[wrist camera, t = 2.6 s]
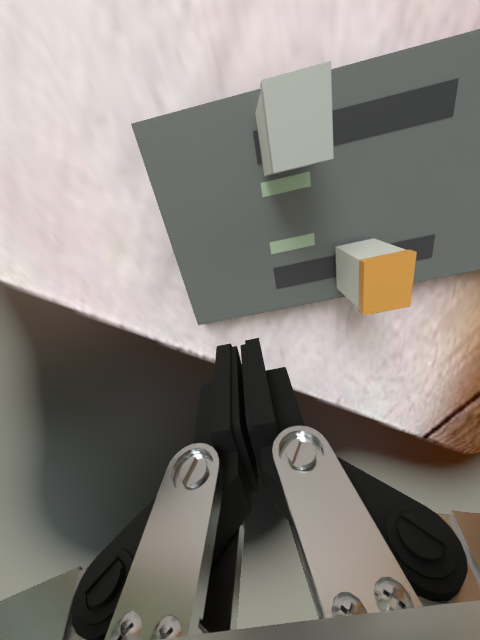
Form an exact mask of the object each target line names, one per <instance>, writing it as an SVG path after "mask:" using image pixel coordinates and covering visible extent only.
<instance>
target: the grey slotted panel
mask: <svg viewBox="0 0 480 640" xmlns="http://www.w3.org/2000/svg"><path fill="white" fill-rule="evenodd" d="M331 85H332V120H333V154H334V159H331V160H327V161H323V162H319V163H315V164H311V165H308V166H305V167H301V168H296V169H292V170H288V171H284V172H280V173H276V174H272V175H268V176H264V171H263V164H262V157H261V150H260V143H259V136H258V129H257V122H256V115H255V112H256V108H257V104H258V100H259V96H260V92H261V89H258V90H254V91H250V92H247V93H243V94H239V95H236V96H232V97H228V98H225V99H221V100H217V101H214V102H210V103H206V104H203V105H199V106H195V107H192V108H188V109H184V110H181V111H177V112H173V113H170V114H166V115H162V116H158V117H155V118H151V119H147V120H144V121H140V122H136V123H133V124H131V125H132V128H133V131H134V134H135V137H136V140H137V143H138V146H139V149H140V152H141V155H142V158H143V161H144V164H145V167H146V170H147V173H148V176H149V179H150V182H151V185H152V188H153V191H154V194H155V197H156V200H157V203H158V206H159V209H160V212H161V215H162V218H163V221H164V224H165V227H166V230H167V233H168V236H169V239H170V242H171V245H172V248H173V251H174V254H175V257H176V260H177V263H178V266H179V269H180V272H181V275H182V278H183V281H184V284H185V287H186V290H187V293H188V296H189V299H190V302H191V305H192V308H193V311H194V314H195V317H196V320H197V323H198V325H202V324H207V323H212V322H217V321H222V320H227V319H232V318H237V317H242V316H248V315H253V314H258V313H263V312H268V311H273V310H278V309H283V308H288V307H293V306H299V305H304V304H309V303H314V302H319V301H324V300H329V299H334V298H339V297H344V296H345V295H343V294H342V293H341V292H340V291H339V290H338V289H337V281H336V248H335V247H336V246H340V245H345V244H350V243H354V242H359V241H364V240H368V239H373V238H374V239H377V240H380V241H383V242H385V243H388V244H391V245H394V246H397V247H400V248H403V249H405V250H409V249H410V250H413V251H416V252H417V254H416V262H415V271H414V279H413V283H416V282H421V281H426V280H431V279H436V278H441V277H446V276H451V275H456V274H461V273H467V272H472V271H477V270H480V29H478V30H475V31H471V32H467V33H464V34H460V35H456V36H453V37H449V38H445V39H442V40H438V41H434V42H431V43H427V44H423V45H420V46H416V47H412V48H409V49H405V50H401V51H398V52H394V53H390V54H386V55H383V56H379V57H375V58H372V59H368V60H364V61H361V62H357V63H353V64H350V65H346V66H342V67H339V68H335V69H331Z"/></svg>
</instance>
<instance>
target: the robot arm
mask: <svg viewBox="0 0 480 640" xmlns="http://www.w3.org/2000/svg"><path fill="white" fill-rule="evenodd" d="M245 343H246V344H245V345H241V358H242V364H241V360H240V356H239V352H238V349H237V346H234V347H232V345H231V344H226V345H221V346H217V350H216V361H215V373H214V381H210V382H204V383H203V384H202V386H201V392H200V399H199V406H198V412H197V419H196V426H195V433H194V440H193V444H192V445H189V446H187V447H185V448H183V449H182V450H181V451H179V452H178V453H177V454H176V455H175V457H174V458H173V459H172V460H171V462H170V464H169V466H168V468H167V470H166V473H165V475H164V479H163V481H162V484H161V486H160V489H159V492H158V495H157V496H156V497H155V498H154V499H153V500H152V501H151V502H150V503H149V504H148V505H147V506H146V507H145V508H144V509H143V510H142V511H141V512H140V513H139V514H138V515H137V516H136V517H135V518H134V519H133V520H132V521H131V522H130V523H129V525H127V526H126V528H124V529H123V531H122V532H121V533H120V534H119V535H118V536H117V537H116V538H115V539H114V540H113V541H112V542H111V543H110V544H109V545H108V546H107V547H106V548H105V549H104V550H103V551H102V552H101V553H100V554H99V555H98V556H97V557H96V558H95V559H94V561H93V562H92V563H91V564H90V566H89V567H87V568H85V569H83V568H81V567H80V566H79V567H76V568H74V569H72V570H70V571H67V572H65V573H63V574H61V575H58V576H56V577H54V578H51V579H49V580H47V581H45V582H42V583H40V584H38V585H36V586H33V587H31V588H29V589H26V590H24V591H22V592H20V593H17V594H15V595H13V596H11V597H8V598H6V599H4V600H2V601H0V640H480V514H478V513H469V512H459V511H452V512H451V515H448V514H439V513H435V512H433V511H432V510H431V509H429V508H428V507H426V506H424V505H422V504H421V503H419V502H417V501H415V500H414V499H412V498H410V497H408V496H406V495H405V494H403V493H401V492H399V491H397V490H396V489H394V488H392V487H390V486H389V485H387V484H385V483H383V482H381V481H380V480H378V479H376V478H374V477H372V476H371V475H369V474H367V473H365V472H364V471H362V470H360V469H358V468H356V467H355V466H353V465H351V464H349V463H348V462H346V461H344V460H342V459H340V458H339V457H337V456H336V455H335V454H334V452H333V450H332V449H331V447H330V445H329V443H328V442H327V441H326V439H325V438H324V437H323V435H322V434H320V433H319V432H317V431H316V430H315V429H312V428H310V427H307V426H304V423H303V420H302V417H301V414H300V410H299V407H298V404H297V401H296V398H295V395H294V392H293V389H292V386H291V382H290V379H289V376H288V373H287V370H286V368H285V367H283V368H278V369H272V370H267V371H265V366H264V361H263V356H262V351H261V346H260V342H259V338H256V339H251V340H246V341H245ZM258 468H259V472H260V475H261V479H262V482H263V485H264V489H265V490H268V491H269V494H270V498H271V501H272V505H273V508H274V509H276V510H277V511H278V512H279V513H280V514H282V515H283V516H284V517H285V518H286V519H287V520H288V521H289V525H290V528H291V531H292V535H293V538H294V541H295V544H296V548H297V551H298V554H299V557H300V560H301V564H302V567H303V570H304V573H305V576H306V580H307V583H308V586H309V589H310V592H311V596H312V599H313V602H314V605H315V609H316V612H317V615H318V618H319V619H318V620H310V621H302V622H293V623H286V624H278V625H270V626H262V627H254V628H246V629H238V630H236V629H237V628H236V627H237V616H238V615H237V614H238V603H239V590H240V577H241V565H242V551H243V538H244V521H245V519H246V518H247V516H248V515H249V514H250V512H251V504H255V497H254V492H257V491H260V484H259V474H258Z"/></svg>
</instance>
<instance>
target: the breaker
mask: <svg viewBox="0 0 480 640" xmlns="http://www.w3.org/2000/svg"><path fill="white" fill-rule="evenodd" d="M260 88H261V92H260V96H259V100H258V104H257V108H256V112H255V115H256V122H257V129H258V136H259V143H260V150H261V157H262V164H263V171H264V176H268V175H272V174H276V173H280V172H284V171H288V170H292V169H296V168H301V167H305V166H308V165H311V164H315V163H319V162H323V161H327V160H331V159H334V154H333V120H332V85H331V61H330V62H326V63H323V64H319V65H315V66H312V67H308V68H304V69H301V70H297V71H294V72H290V73H286V74H283V75H279V76H275V77H272V78H268V79H264V80H262V81H261V85H260Z"/></svg>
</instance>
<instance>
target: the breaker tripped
mask: <svg viewBox="0 0 480 640" xmlns="http://www.w3.org/2000/svg"><path fill="white" fill-rule="evenodd" d="M335 248H336V281H337V289H338V290H339V291H340V292H341V293H342V294H343V295H345V296H346V297H347V298H348V299H349V300H350V301H351V302H352V303H353V304H354V305H355V306H356V307H357V308H358V309H359V310H358V311H359V312H360V313H361V314H362V315H368V314H373V313H378V312H383V311H389V310H394V309H399V308H405V307H410V304H411V295H412V287H413V279H414V271H415V262H416V254H417V252H416V251H413V250H410V249H409V250H405V249H403V248H400V247H397V246H394V245H391V244H388V243H385V242H383V241H380V240H377V239H374V238H373V239H368V240H364V241H359V242H354V243H350V244H345V245H340V246H336V247H335Z"/></svg>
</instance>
